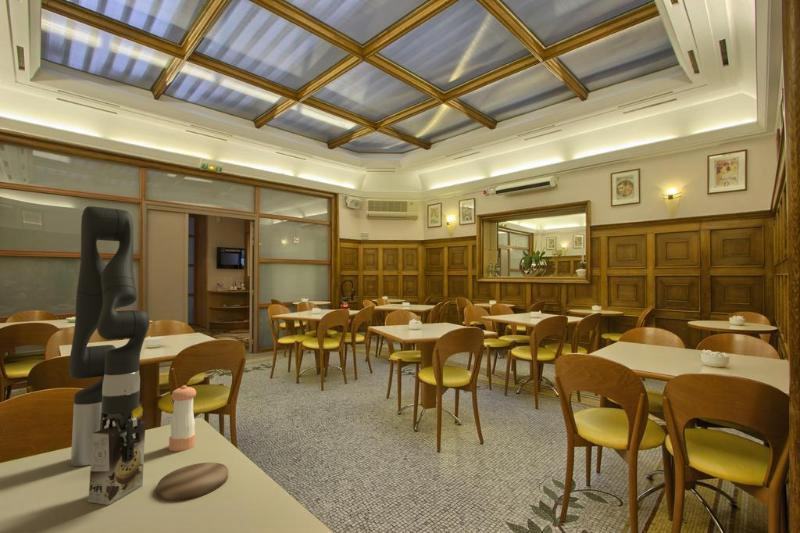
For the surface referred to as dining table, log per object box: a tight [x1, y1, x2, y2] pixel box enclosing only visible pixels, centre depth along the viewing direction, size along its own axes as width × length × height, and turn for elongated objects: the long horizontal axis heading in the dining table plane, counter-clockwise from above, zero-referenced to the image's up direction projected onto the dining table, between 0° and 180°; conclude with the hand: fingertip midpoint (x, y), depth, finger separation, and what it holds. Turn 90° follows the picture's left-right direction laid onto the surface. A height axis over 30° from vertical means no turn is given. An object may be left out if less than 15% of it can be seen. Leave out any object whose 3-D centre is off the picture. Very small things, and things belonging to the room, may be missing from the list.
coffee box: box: [87, 421, 146, 506], centre depth 91 cm, size 9×6×16 cm
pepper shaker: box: [168, 384, 197, 452], centre depth 118 cm, size 7×7×19 cm
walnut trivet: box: [156, 462, 229, 501], centre depth 95 cm, size 16×16×2 cm
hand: (118, 457), depth 91 cm, fingers open, 8 cm apart
